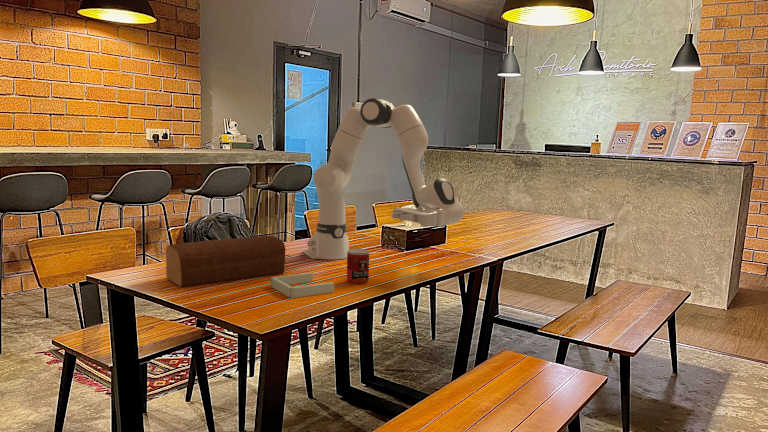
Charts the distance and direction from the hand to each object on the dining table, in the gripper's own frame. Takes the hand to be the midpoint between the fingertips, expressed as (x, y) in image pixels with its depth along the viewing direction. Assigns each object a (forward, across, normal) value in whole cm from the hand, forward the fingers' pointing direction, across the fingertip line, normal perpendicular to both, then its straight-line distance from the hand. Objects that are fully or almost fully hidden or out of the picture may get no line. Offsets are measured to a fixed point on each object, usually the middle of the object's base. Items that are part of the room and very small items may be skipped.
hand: (397, 217), depth 212 cm
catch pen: (+37, 0, +22) cm, 43 cm away
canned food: (+16, 0, +22) cm, 27 cm away
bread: (+53, -28, +22) cm, 64 cm away
